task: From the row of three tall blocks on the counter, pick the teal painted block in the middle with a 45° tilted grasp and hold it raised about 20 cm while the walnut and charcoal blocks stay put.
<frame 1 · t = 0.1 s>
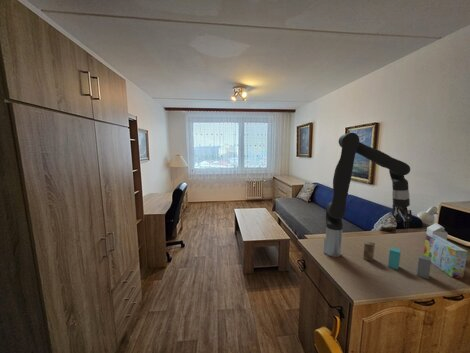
hand: (402, 224, 116), 22 cm above the countertop, tool pointing down, fingers open, 8 cm apart
charcoal block: (422, 275, 105), on the countertop
teal block: (393, 266, 113), on the countertop
snack box: (441, 267, 112), on the countertop
walnut block: (368, 258, 121), on the countertop
milk carton: (434, 252, 128), on the countertop
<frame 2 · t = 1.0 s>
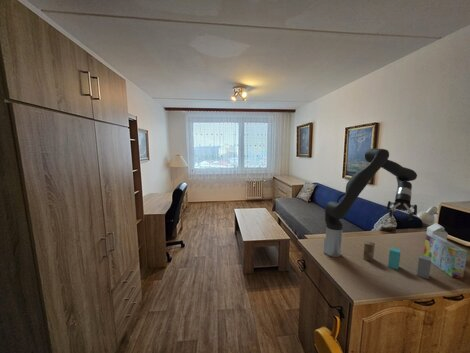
hand: (400, 218, 120), 25 cm above the countertop, tool tilted 45°, fingers open, 8 cm apart
nothing on the countertop moved.
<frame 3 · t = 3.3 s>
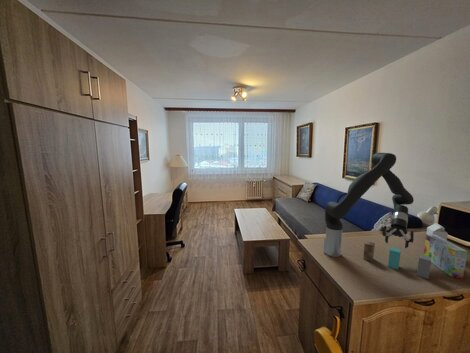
hand: (396, 245, 115), 11 cm above the countertop, tool tilted 45°, fingers open, 8 cm apart
nothing on the countertop moved.
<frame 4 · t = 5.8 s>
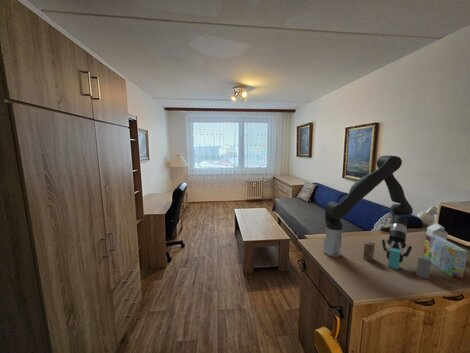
hand: (394, 260, 111), 5 cm above the countertop, tool tilted 45°, fingers closed on teal block, 4 cm apart
teal block: (393, 266, 113), on the countertop, touching gripper
everything else where it was.
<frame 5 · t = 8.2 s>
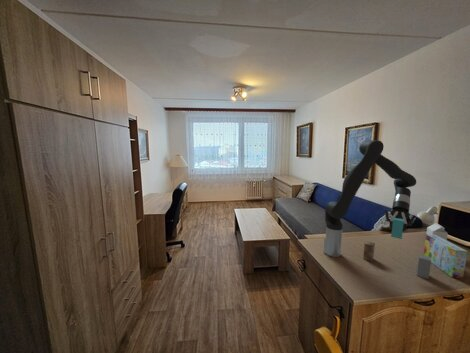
hand: (397, 229, 108), 22 cm above the countertop, tool tilted 45°, fingers closed on teal block, 4 cm apart
teal block: (396, 236, 110), point 18 cm above the countertop, touching gripper
everything else where it was.
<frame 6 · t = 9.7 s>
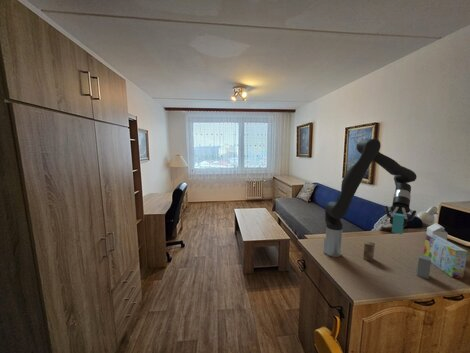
hand: (397, 224, 108), 25 cm above the countertop, tool tilted 45°, fingers closed on teal block, 4 cm apart
teal block: (397, 232, 110), point 20 cm above the countertop, touching gripper
everything else where it was.
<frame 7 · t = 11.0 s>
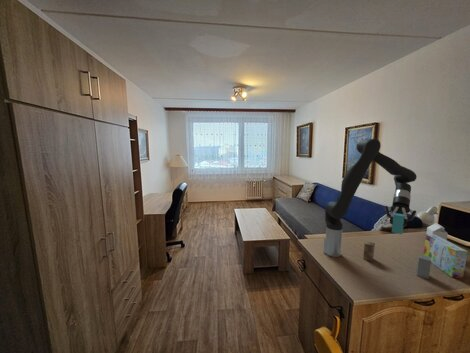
hand: (397, 224, 108), 25 cm above the countertop, tool tilted 45°, fingers closed on teal block, 4 cm apart
teal block: (397, 232, 110), point 20 cm above the countertop, touching gripper
everything else where it was.
at the end: teal block point 20.4 cm above the countertop; walnut block moved 0.0 cm from its start; charcoal block moved 0.0 cm from its start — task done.
